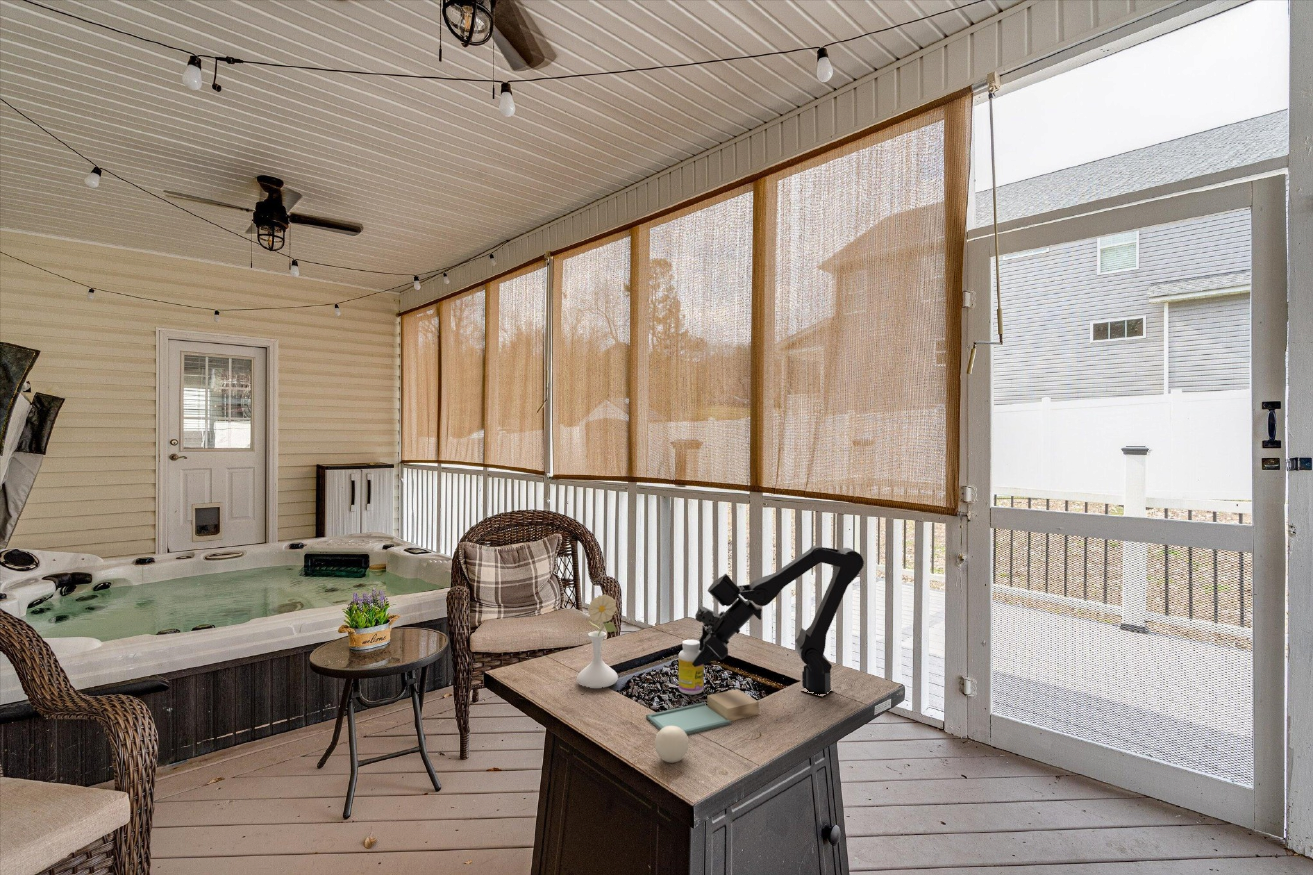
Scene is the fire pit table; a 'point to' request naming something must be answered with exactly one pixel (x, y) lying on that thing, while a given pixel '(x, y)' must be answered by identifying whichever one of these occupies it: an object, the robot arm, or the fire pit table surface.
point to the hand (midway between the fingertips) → (692, 659)
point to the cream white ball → (671, 744)
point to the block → (733, 704)
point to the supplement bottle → (690, 669)
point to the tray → (688, 718)
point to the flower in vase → (599, 645)
